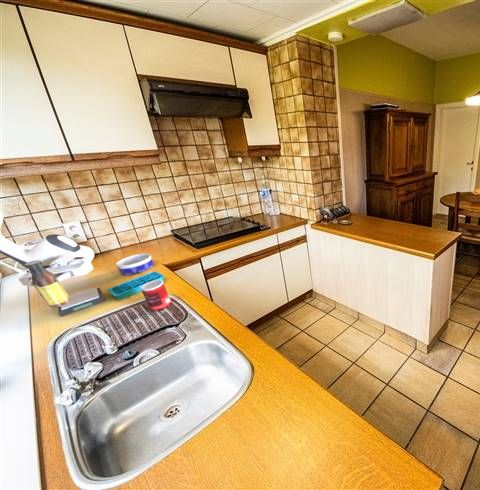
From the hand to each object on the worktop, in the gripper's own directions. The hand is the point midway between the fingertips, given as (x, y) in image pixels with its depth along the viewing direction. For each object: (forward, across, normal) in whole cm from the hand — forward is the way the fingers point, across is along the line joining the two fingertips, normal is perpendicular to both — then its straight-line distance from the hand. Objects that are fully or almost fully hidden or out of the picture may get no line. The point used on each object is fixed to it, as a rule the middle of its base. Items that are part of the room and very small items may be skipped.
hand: (44, 282), depth 103 cm
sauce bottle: (-1, 0, +11) cm, 11 cm away
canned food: (+6, +35, +18) cm, 40 cm away
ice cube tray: (-17, +20, +18) cm, 32 cm away
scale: (-12, -1, +18) cm, 22 cm away
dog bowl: (-43, +11, +18) cm, 48 cm away
